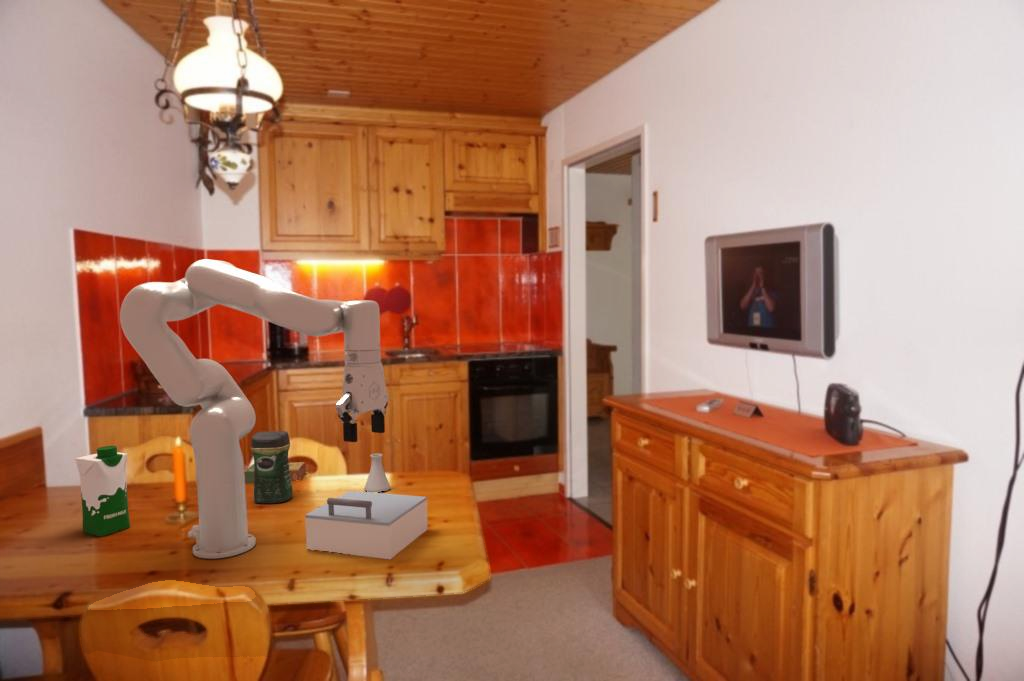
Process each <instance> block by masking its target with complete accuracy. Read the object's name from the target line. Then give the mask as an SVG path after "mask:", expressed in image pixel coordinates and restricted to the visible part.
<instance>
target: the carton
mask: <svg viewBox="0 0 1024 681" xmlns="http://www.w3.org/2000/svg"><path fill="white" fill-rule="evenodd" d="M289 470H290V477H291V481H293V482H297V481H296V480H300V478H302V479H303V478H304V477H305V476H306V475H307V462H305V461H298V462H297V461H296V462H295V461H294V462H289ZM244 474H245V484H254V463H253V464H251V465H250V466H249V467H248V468H247V469H244ZM300 481H301V480H300Z"/></svg>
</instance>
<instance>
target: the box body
mask: <svg viewBox="0 0 1024 681" xmlns="http://www.w3.org/2000/svg"><path fill="white" fill-rule="evenodd" d="M427 501H428V499H427V500H425V501H424V502H422V503H421V504H419V505H418V506H417V507H415V508H414V509H412V510H411V511H409V512H408V513H407V514H405V515H404V516H402V517H401V518H399V519H398V520H397V521H395V522H394V523H392V524H391V525H389V526H385V525H375V524H365V523H355V522H345V521H335V520H325V519H314V518H304V520H305V539H306V540H305V541H306V550H307V549H311V550H310V551H314V550H322V551H329V552H328V553H331V552H338V553H337V554H339V553H343V554H342V555H348V554H350V555H351V556H357V557H366V558H374V559H375V558H376V559H384V560H392V559H393V558H394V557H395V556H396V555H397V554H399V553H401V552H402V550H404V549H406V547H407V546H409V545H410V544H411V543H412V542H414V541H416V539H418V538H419V537H420V536H421V535H422V534H424V533H425V532H426V531H428V502H427ZM312 549H313V550H312ZM322 551H321V552H322ZM350 555H349V556H350Z"/></svg>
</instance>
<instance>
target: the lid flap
mask: <svg viewBox="0 0 1024 681" xmlns="http://www.w3.org/2000/svg"><path fill="white" fill-rule="evenodd" d="M425 500H427V501H428V498H427V496H422V495H421V496H419V495H408V494H395V493H385V492H380V493H373V492H366V491H361V490H359V491H358V490H349V491H347V492H345V493H344V494H342V495H339V496H337V497H328V498H327V499H326V503H324V504H323V505H320V507H317V508H315V509H314V510H311V511H309V512H308V513H306V514H305V516H304V517H305V518H314V519H325V520H335V521H345V522H355V523H365V524H375V525H385V526H389V525H391V524H392V523H394V522H395V521H397V520H398V519H399V518H401V517H402V516H404V515H405V514H407V513H408V512H409V511H411V510H412V509H414V508H415V507H417V506H418V505H419V504H421V503H422V502H424V501H425ZM305 518H304V519H305Z"/></svg>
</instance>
